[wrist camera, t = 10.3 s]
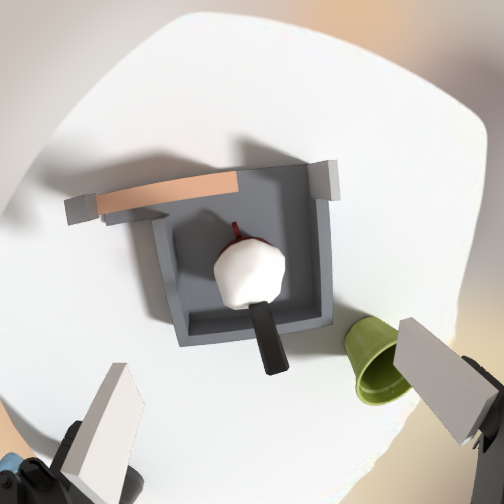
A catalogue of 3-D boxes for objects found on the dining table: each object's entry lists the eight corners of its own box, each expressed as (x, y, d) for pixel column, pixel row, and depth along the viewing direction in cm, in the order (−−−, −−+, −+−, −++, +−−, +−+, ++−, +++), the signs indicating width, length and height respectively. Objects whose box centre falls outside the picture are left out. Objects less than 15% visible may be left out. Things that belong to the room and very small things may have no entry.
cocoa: (220, 217, 28) (209, 232, 16) (283, 223, 28) (316, 243, 16) (214, 307, 29) (201, 372, 18) (272, 311, 30) (292, 377, 18)
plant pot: (338, 375, 35) (361, 417, 26) (323, 323, 32) (350, 364, 24) (396, 347, 35) (427, 381, 26) (389, 292, 32) (428, 322, 24)
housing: (137, 332, 31) (119, 365, 24) (105, 194, 27) (73, 199, 20) (321, 308, 32) (342, 339, 25) (311, 164, 28) (336, 159, 21)
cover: (104, 213, 26) (65, 226, 18) (101, 195, 25) (61, 201, 18) (236, 191, 27) (240, 195, 19) (233, 171, 26) (236, 166, 18)
